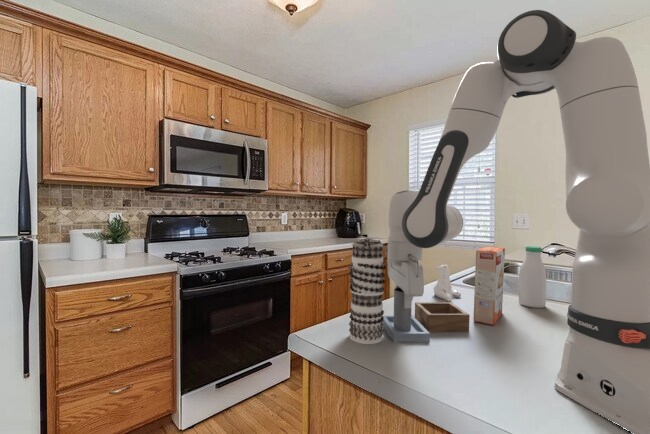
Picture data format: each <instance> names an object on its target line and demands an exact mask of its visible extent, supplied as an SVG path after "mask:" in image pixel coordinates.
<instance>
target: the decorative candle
mask: <svg viewBox="0 0 650 434" xmlns="http://www.w3.org/2000/svg"><path fill="white" fill-rule="evenodd" d="M351 245H352V250H351V251H352V256H351V262H352V263H351V264H349V266H348V269H349V270H350V271H349V273H348V275H349V276H350V277H351V278H350V279H349V283H350V285H349V291H350V293H352V294H351V302H350V309H349V312H350V315H349V318H350V321H349V323H348V325H349V328H348V331H349V333H350V334H349V338H350V340H351V341H353V342H355V343H358V344H362V345H363V344H364V345H376V344H379V343H381V342H382V341H383V339H384V332H385V331H384V329H385V328H384V324H383V323H382V321H383V319H384V317H383V316H384V314H385V310H384V309H383V308H384V307H383V306H384V305H383V304H384V303H383V294H384V293H385V292H384V291H385V287H383V285H384V284H385V283H386V280H385V279H383V278H385V277H386V274H385V273H384V272H383V271H384V270H385V269H387V265H385V263H386V262H387V260H384V255H383V254H384V251H383V249H384V246H385V245H384V244H383V243H382V242H381V240H380V239H379V238H377V237H357V238H356V239H355V240H354V241H353V243H351Z"/></svg>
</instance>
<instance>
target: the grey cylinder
mask: <svg viewBox="0 0 650 434" xmlns="http://www.w3.org/2000/svg"><path fill="white" fill-rule="evenodd" d="M404 296H405V295H404V291H403V290H402V289H401V288H395V287H394V289H393V316H394V328H395V329H396V330H399V331H409V330H411V315H412V303H413V302H412V303H411V308H405V307H404V306H403V300H404Z"/></svg>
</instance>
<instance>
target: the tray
mask: <svg viewBox="0 0 650 434" xmlns="http://www.w3.org/2000/svg"><path fill="white" fill-rule="evenodd" d="M382 316H383V317H384V319H383V321H382V323H383V324H384V326H383V327H384V328H383V329H385V331H386V332H387V334H388V336H389V338H390V339H391V340H392V342H394V343H397V342H399V343H401V342H402V343H404V342H405V343H407V342H408V343H409V342H411V343H414V342H416V343H417V342H419V343H420V342H430V341H431V332H428V331H427V330H426V329H425V328H424V327H423V326H422V324H421V323H420V322H419V321H418V320H417V319H416V318H415V315H413V314H411V330H409V331H399V330H396V329H395V328H394V315H382Z"/></svg>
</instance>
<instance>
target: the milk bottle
mask: <svg viewBox="0 0 650 434" xmlns="http://www.w3.org/2000/svg"><path fill="white" fill-rule="evenodd" d="M524 248H525V253H526V254H525V257H524V260H523V262H522V263H521V265H520V268H519V279H518V280H519V281H518V303H519V304H520V305H521V306H525V307H528V308H534V309H535V308H536V309H541V308H542V309H543V308H545V307H546V303H547V302H546V301H547V298H546V297H547V271H546V266H545V265H544V263H543V260H542V256H541V254H542V251H543V250H542V247H540V246H537V245H536V246H534V245H532V246H531V245H528V246H527V245H526V246H525V247H524Z"/></svg>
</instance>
